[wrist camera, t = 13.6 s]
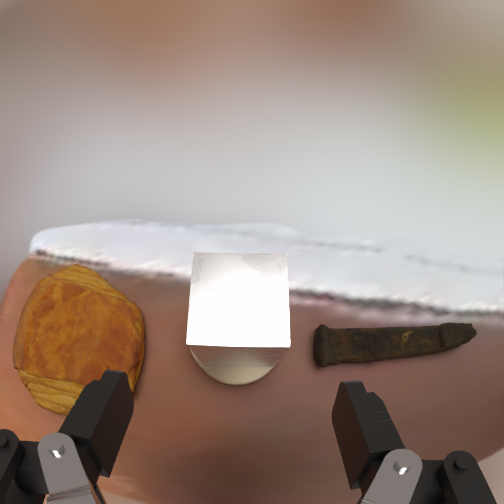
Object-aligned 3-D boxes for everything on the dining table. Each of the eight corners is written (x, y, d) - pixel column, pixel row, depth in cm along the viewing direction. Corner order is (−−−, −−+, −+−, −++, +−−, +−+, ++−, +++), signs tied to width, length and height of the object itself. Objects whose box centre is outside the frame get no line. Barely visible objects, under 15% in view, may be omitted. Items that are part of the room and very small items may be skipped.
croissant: (31, 386, 27) (-14, 385, 20) (63, 263, 33) (24, 237, 25) (137, 437, 26) (102, 454, 19) (171, 293, 31) (145, 270, 24)
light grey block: (271, 303, 26) (286, 254, 19) (272, 367, 24) (290, 346, 16) (207, 301, 26) (193, 252, 18) (203, 365, 24) (186, 344, 16)
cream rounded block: (293, 334, 30) (311, 309, 23) (248, 401, 27) (252, 400, 20) (226, 291, 32) (223, 255, 25) (179, 354, 29) (160, 335, 22)
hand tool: (310, 369, 29) (322, 363, 25) (311, 330, 31) (323, 317, 27) (462, 362, 29) (487, 354, 25) (459, 330, 31) (483, 318, 27)
